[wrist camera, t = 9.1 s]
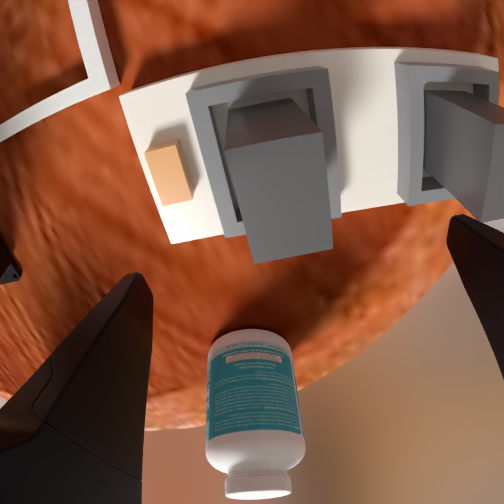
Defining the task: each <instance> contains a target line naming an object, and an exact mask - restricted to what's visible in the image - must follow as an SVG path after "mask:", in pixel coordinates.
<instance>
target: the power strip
mask: <svg viewBox="0 0 504 504" xmlns="http://www.w3.org/2000/svg"><path fill="white" fill-rule="evenodd" d="M424 90H454V91H465V92H468V93H470V94H473V95H475V96H478V97H480V98H483V99H485V100H487V101H489V102H492V103H494V104H496V105H498V100H499V67H498V58H495V57H491V56H487V55H483V54H479V53H472V52H464V51H455V50H445V49H433V48H416V47H351V48H333V49H320V50H310V51H300V52H292V53H284V54H277V55H270V56H264V57H258V58H252V59H246V60H241V61H236V62H231V63H226V64H221V65H217V66H212V67H208V68H204V69H200V70H196V71H192V72H188V73H184V74H180V75H177V76H173V77H170V78H166V79H163V80H160V81H156V82H153V83H150V84H147V85H144V86H141V87H138V88H135V89H132V90H129V91H128V92H126V93H124V94H122V95H120V96H119V99H120V102H121V105H122V108H123V111H124V114H125V118H126V121H127V124H128V127H129V130H130V133H131V136H132V139H133V142H134V145H135V148H136V151H137V153H138V156H139V159H140V162H141V165H142V168H143V171H144V173H145V176H146V179H147V182H148V184H149V187H150V190H151V192H152V195H153V198H154V201H155V203H156V206H157V208H158V211H159V214H160V216H161V219H162V221H163V224H164V227H165V229H166V232H167V234H168V237H169V239H170V242H171V244H175V243H180V242H185V241H190V240H195V239H201V238H206V237H211V236H216V235H221V234H224V235H225V238H229V237H235V236H240V235H245V234H246V231H245V227H244V223H243V220H242V216H241V212H240V208H239V204H238V200H237V197H236V193H235V189H234V185H233V181H232V177H231V174H230V170H229V166H228V162H227V158H226V154H225V151H224V150H225V139H226V128H227V118H228V110H230V109H235V108H239V107H244V106H249V105H254V104H259V103H264V102H270V101H275V100H281V99H287V98H292V99H293V101H294V102H295V103H296V104H297V105H298V106H299V107H300V108H301V109H302V110H303V111H304V112H305V113H306V115H307V116H308V117H309V118H310V119H311V120H312V121H313V122H314V123H315V125H316V126H317V127H318V128H319V129H320V130H321V131H322V135H323V143H324V152H325V160H326V169H327V179H328V189H329V200H330V211H331V219H334V218H340V217H341V213H343V212H349V211H355V210H361V209H367V208H373V207H379V206H385V205H391V204H398V203H404V202H405V203H406V204H407V206H412V205H418V204H424V203H430V202H437V201H443V200H450V199H456V198H455V197H454V196H453V195H452V194H451V193H450V192H449V191H448V190H447V189H446V188H444V187H443V186H442V185H441V184H440V183H439V182H438V181H437V180H436V179H435V178H434V177H432V176H431V175H430V174H429V173H428V172H427V171H426V170H425V169H423V155H424Z"/></svg>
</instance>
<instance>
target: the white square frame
mask: <svg viewBox="0 0 504 504" xmlns="http://www.w3.org/2000/svg"><path fill="white" fill-rule="evenodd" d="M68 2H69V7H70V11H71V15H72V19H73V23H74V27H75V31H76V35H77V39H78V43H79V47H80V50H81V54H82V58H83V61H84V65H85V68H86V72H87V75H88V79H86V80H84V81H82V82H79V83H77V84H75V85H73V86H71V87H69V88H66V89H64V90H62V91H60V92H58V93H56V94H54V95H52V96H50V97H48V98H46V99H44V100H42V101H41V102H39V103H37V104H35V105H33V106H31V107H30V108H28V109H26V110H24V111H22V112H21V113H19V114H17V115H16V116H14V117H12V118H11V119H9V120H7V121H6V122H4V123H2V124H1V125H0V142H1V141H3V140H5V139H7V138H8V137H10V136H12V135H13V134H15V133H17V132H19V131H21V130H22V129H24V128H26V127H28V126H30V125H32V124H34V123H36V122H38V121H39V120H41V119H43V118H45V117H47V116H49V115H51V114H54V113H56V112H58V111H60V110H62V109H64V108H66V107H68V106H71V105H73V104H75V103H77V102H80V101H82V100H84V99H87V98H89V97H92V96H94V95H96V94H99V93H101V92H104V91H107V90H109V89H112V88H114V87H116V86H118V85H120V82H119V79H118V76H117V72H116V69H115V65H114V62H113V58H112V54H111V51H110V47H109V43H108V40H107V36H106V32H105V28H104V24H103V20H102V16H101V12H100V8H99V4H98V0H68Z"/></svg>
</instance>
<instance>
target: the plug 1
mask: <svg viewBox="0 0 504 504" xmlns="http://www.w3.org/2000/svg"><path fill="white" fill-rule="evenodd" d="M224 151H225V154H226V158H227V162H228V166H229V170H230V174H231V177H232V181H233V185H234V189H235V193H236V197H237V200H238V204H239V208H240V212H241V216H242V220H243V223H244V227H245V231H246V235H247V239H248V243H249V246H250V250H251V254H252V258H253V262H254V264H257V263H262V262H267V261H273V260H278V259H283V258H288V257H293V256H299V255H304V254H309V253H314V252H319V251H324V250H329V249H333V237H332V224H331V211H330V200H329V189H328V179H327V169H326V160H325V152H324V143H323V135H322V131H321V130H320V129H319V128H318V127H317V126H316V125H315V123H314V122H313V121H312V120H311V119H310V118H309V117H308V116H307V115H306V113H305V112H304V111H303V110H302V109H301V108H300V107H299V106H298V105H297V104H296V103H295V102H294V101H293V99H292V98H287V99H281V100H275V101H270V102H264V103H259V104H254V105H249V106H244V107H239V108H235V109H230V110H228V118H227V128H226V139H225V150H224Z"/></svg>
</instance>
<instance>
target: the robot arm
mask: <svg viewBox="0 0 504 504" xmlns="http://www.w3.org/2000/svg"><path fill="white" fill-rule="evenodd" d="M447 247H448V249H449V251H450V254H451V256H452V258H453V261H454V263H455V265H456V268H457V270H458V273H459V275H460V278H461V280H462V283H463V285H464V288H465V290H466V292H467V294H468V296H469V298H470V300H471V302H472V304H473V306H474V309H475V311H476V313H477V315H478V317H479V319H480V321H481V324H482V326H483V328H484V331H485V333H486V335H487V337H488V340H489V342H490V345H491V347H492V350H493V352H494V355H495V357H496V360H497V363H498V365H499V368H500V371H501V373H502V376H503V379H504V233H503V232H501V231H499V230H497V229H494V228H492V227H490V226H488V225H486V224H484V223H482V222H480V221H477V220H475V219H473V218H471V217H469V216H466V215H464V214H461V215H455V216H452V217H451V219H450V223H449V229H448V234H447ZM21 276H22V274H21V272H20V270H19V269H18V267H17V266H16V264H15V263H14V261H13V259H12V258H11V256H10V254H9V253H8V251H7V250H6V248H5V246H4V245H3V243H2V241H1V239H0V284H5V283H9V282H14V281H18V280H20V278H21ZM152 337H153V295H152V292H151V290H150V288H149V286H148V284H147V282H146V280H145V279H144V277H143V275H142V274H141V273H140V272H135V273H130V274H127V275H125V276H124V277H123V278H122V279H121V280H120V281H119V282H118V283H117V284H116V285H115V286H114V288H113V289H112V290H111V291H110V292H109V293H108V294H107V295H106V296H105V297H104V298H103V299H102V300H101V301H100V302H99V303H98V304H97V305H96V306H95V307H94V308H93V309H92V310H91V311H90V312H89V313H88V315H87V316H86V317H85V318H84V319H83V320H82V321H81V322H80V323H79V324H78V325H77V326H76V327H75V328H74V330H73V331H72V332H71V333H70V334H69V335H68V336H67V337H66V338H65V339H64V340H63V342H62V343H61V344H60V345H59V346H58V347H57V348H56V349H55V351H54V352H53V353H52V355H50V356H49V357H48V358H47V360H46V361H45V362H44V363H43V364H42V365H41V366H40V367H39V369H38V370H37V371H36V372H35V373H34V374H33V375H32V376H31V377H30V378H29V380H28V381H27V382H26V383H25V384H24V385H23V386H22V387H21V388H20V389H19V390H18V391H17V392H16V393H15V394H14V395H13V396H12V397H11V398H10V399H9V400H8V401H7V403H6V404H5V405H4V406H3V407H2V408H1V409H0V504H142V481H141V480H142V462H143V461H142V460H143V442H144V427H145V414H146V402H147V391H148V381H149V371H150V362H151V353H152Z"/></svg>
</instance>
